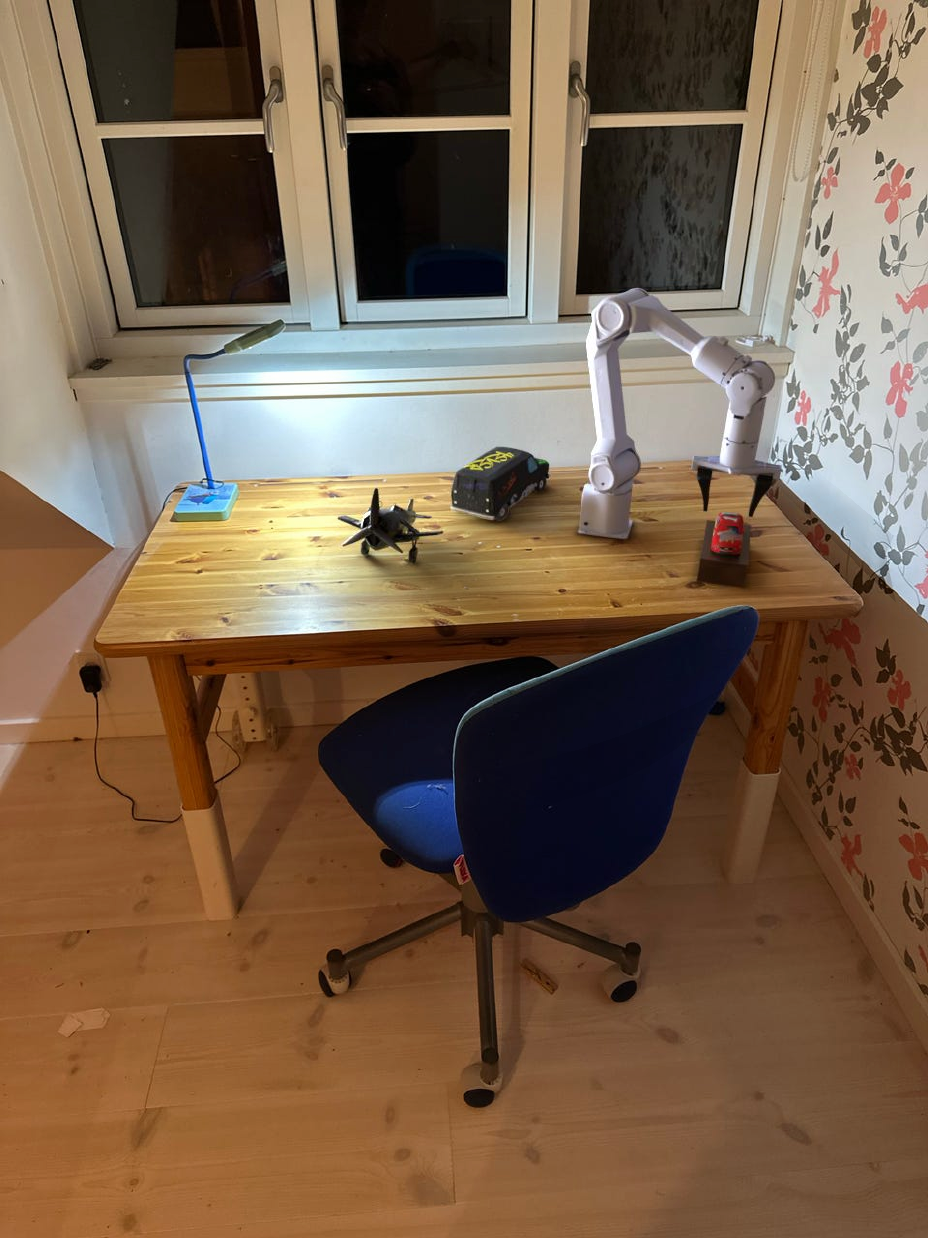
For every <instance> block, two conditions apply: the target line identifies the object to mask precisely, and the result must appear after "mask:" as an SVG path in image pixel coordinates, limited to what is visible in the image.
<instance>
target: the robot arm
mask: <svg viewBox="0 0 928 1238" xmlns="http://www.w3.org/2000/svg"><path fill="white" fill-rule="evenodd" d="M590 313H591V321H592V322H591V324H590V328H589V330H588V331H589V332H588V334H587V338H586V343H585V344H586V355H587V362H588V363H587V364H588V369H589V370H588V371H589V380H590V388H591V397H592V405H593V413H594V422H595V430H596V431H595V432H596V442H595V444H594V446H593V448H592V450H591V453H590V466H589V469H588V479H589V482H590V483H584V486H583V489H582V493H581V502H580V512H579V526H578V531H577V532H578V534H581V535H587V536H594V537H602V538H609V539H610V538H611V539H619V540H628V538H629V535H630V533H631V530H632V527H633V523H634V522H633V520H632V519H631V520H630V515H631V506H632V505H631V504H632V496H633V489H634V487H633V486H634V478H635V477H637V476H638V475H639V473H640V471H641V469H642V461H641V457H640V455H639V453H638V451H637V450H636V445H635V440H633V438H631V437H630V435H628V432H627V422H626V412H625V403H624V393H623V384H622V383H623V382H622V374H621V373H622V372H621V363H620V355H619V354H620V353H619V348H620V346H621V345H622V344H623V343H624V342H625V341H626V340H627V338H629V336H630V334H639V333H653V334H655V335H657V336H659V337H660V338H662V339H663V340H665V341H667V342H668V343H670V344H671V345H672V346H674V347H676V348H678V349H680V350H681V351H683V352H684V353H686V354H688V355H689V356H691V362H692V366H693V368H695V369H696V370H698V371H699V372H701V374H703V375H705V376H706V377H708V378H709V379H710V380H712V381H714V382H715V383H716V384H717V385H719V386H720V387H722V388H724V389H725V394H726V396H727V398H728V400H729V403H728V409H727V414H726V419H725V425H724V431H723V437H722V443H721V449H720V454H719V455H714V456H713V455H712V456H710V455H709V456H708V455H707V456H699V455H696V456H695V455H693V456H692V462H691V468H690V471H693V472H696V480H697V483H698V485H699V488H700V493H701V497H702V512H707V513H708V508H709V504H710V503H709V502H710V492H711V491H710V489H711V483H712V479H713V478H712V477H713V472H716V473H717V472H718V473H723V474H724V473H725V474H728V475H732V476H742V475H743V476H752V477H755V483H754V489H753V494H752V498H751V501H750V504H749V508H748V518H753V517H754V514H755V511H756V509H757V507H758V506H759V503H760V502H761V500H762V499H763V497H765V495H766V493H767V492H769V490H770V489H771V487H772V485H773V480H776V481H779V480H780V479H781V474H782V466H783V465H782V464H775V463H770V462H766V461H762V460H757V459H756V458H757V457H756V456H757V452H758V446H759V441H760V436H761V431H762V426H763V421H764V416H765V408H766V402H767V398H768V397H767V395H768V394H769V393H770V392H771V391H772V389H773V388H774V386H775V383H776V374H775V372H774V370H773V368H772V367H771V365H769V364H768V363H767V361H766V360H761V359H760V360H759V359H755V360H753V357H752V356H750V355H749V354H746V355H744V354H743V353H742V352H740V351H738V350H737V349H736V348H734V347H732V346H731V345H730V344H728V343H729V341H730V340H729V339H727V338H726V337H725V336H722V337H718V336H716V335H713V336H709V337H704V336H703V335H702V334H700V333H699V332H698V331H696V330H695V328H693V327H691V325H689V324H688V323H686V322H685V321H684V320H683V319H681V318H680V317H678V315H676V314H675V313H674V312H672V311H671V310H670V309H669V308H667V307H666V306H665V305H664V304H663V303H662V302H661V300H660V299H659V298H658V297H656V296H654V295H653V294H650V293H649V292H648V291H647V290H645V289H643V288H641V287H634V288H631V289H629V290H627V291H625V292H621V293H619V294H616V295H610V296H607V297H605V298H603V299H602V300H601V301H600V302H599V303H598V304H597V305H596V306H595V307H594V309H593V310H592V311H591V312H590Z"/></svg>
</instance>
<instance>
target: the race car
mask: <svg viewBox="0 0 928 1238" xmlns="http://www.w3.org/2000/svg"><path fill="white" fill-rule="evenodd" d="M714 521H715V527H714V528H713V529H714V532H713V538H712V544H711V545H712V546H711V551H714V552H717V553H720V554H725V555H736V554H740V553H741V548H742V540H743V533H745V531H743V529H744V525H745V521H744V516H743V515H742V514H740V513H738V512H730V511H721V512H719V513H718V515H717V516H716V518H715V520H714Z"/></svg>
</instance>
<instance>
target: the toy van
mask: <svg viewBox="0 0 928 1238" xmlns="http://www.w3.org/2000/svg"><path fill="white" fill-rule="evenodd" d="M549 472H550V463H549V461H547V460H545V459H543V458H538V457H535V456H534V455H533V453H531V452H528V451H525V450H523V449H519V448H514V447H508V446H495V447H493V448H492V449H490V450H488V451H486V452H484V453H483V454H481V455H480V456H478V457H476V458H475V459H473V460H472V461H470V462H469V463H467V464H466V465H464V466H463V467H461V468H460V469H458V470H457V471H456V472H455V475H454V477H453V481H452V486H451V491H450V494H451V495H450V498H451V505H450V509H451V511H454V512H458V513H461V514H465V515H469V516H472V517H476V518H479V519H483V520H484V519H485V520H488V521H494V520H495V521H499V522H500V521H503V520H504V519H505V518H507V517H508V516H509V513H510V508H512V507H513V506H515V505H516V504H517V503H519V502H521V500H523V499H524V498H525V497H527V496H528V495H529V494H531V493H532V492H535V493H541V492H543V491H544V490H546V486H547V480H550V477H551V474H550V473H549Z"/></svg>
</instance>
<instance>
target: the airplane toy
mask: <svg viewBox="0 0 928 1238" xmlns="http://www.w3.org/2000/svg"><path fill="white" fill-rule="evenodd" d="M414 500H415V499H414V498H412V497H410V499H409V502H408V505H407V508H406V509H404V508H403V507H401V506H398V505H397V504H398V503H397V502H395V503H394V504H392V505H391V506H390V507H389V508H382V507H383V505H380V504H383V502H382V501H381V500H380V493H379V489H378V488H377V487H375V488H374V490H373V493H372V497H371V503H370V507H368V508H367V510H366V513H364V514H363V517H362V518H361V519H362V520H359V519H356V518H355V517H351V516H348V515H341V516H340V515H339V516H337V520H338V521H341V522H343V523H345V524H348V525H351V526H352V527H355V528H357V529H359V531H357V532H355V533H354V534H353V535H352V536H350V537H349V538H348V539H347V540H345V541H344V542H343V543H342V544H341V546H342V547H347V546H349V545H352V544H354V543H357V542H359V541H361V540H362V542H361V543H360V554H361V556H364V557H366V556H368V555H369V553H370V550H371V549H372V550H374V551H375V552H376V551H381V550H383V549H387V548H389V547H391V548H392V549H393V550H396V551H397V552H399V553H400V554H404V550H402V549H401V547H399V545H398V544H402V543H409V542H411V548H410V549H409V550H408V563H409V564H411V565H413V564H416V563H417V561H418V560H417V559H418V556H419V555H418V554H419V547H417V541H418V540H419V539H420V537H422V538H423V537H432V536H439V535H443V534H444V530H432V531H419V529H417V528H415V527H413V525H414V524H415V521H416V519H432V518H433V516H430V515H425V514H418V513H417V512H416V511H415V510H414Z"/></svg>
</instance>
